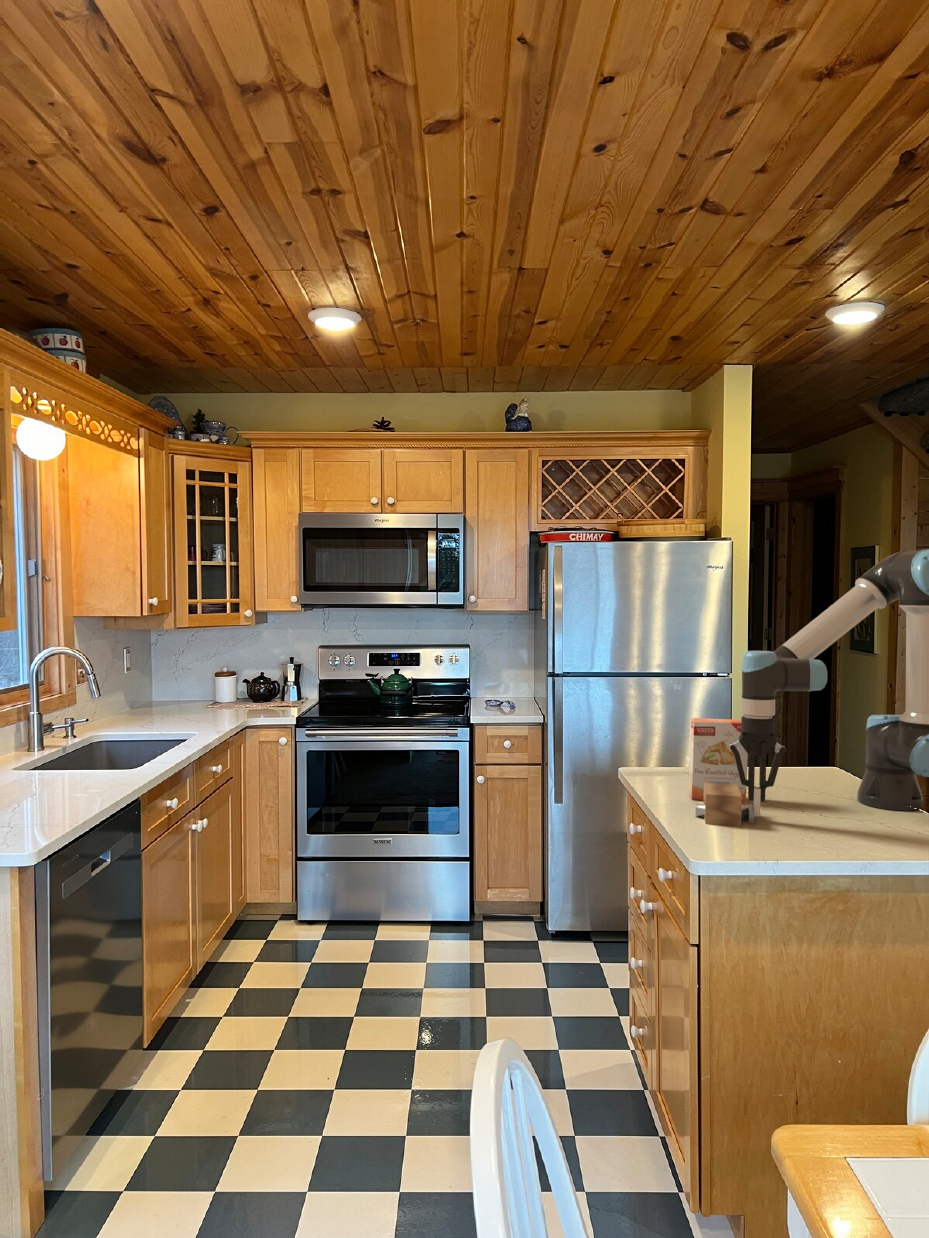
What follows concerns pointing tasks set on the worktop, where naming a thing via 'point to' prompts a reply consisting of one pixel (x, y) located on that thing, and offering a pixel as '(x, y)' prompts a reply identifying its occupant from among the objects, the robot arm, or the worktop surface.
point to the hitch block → (722, 804)
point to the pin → (746, 812)
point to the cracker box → (714, 755)
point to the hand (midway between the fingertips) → (756, 814)
